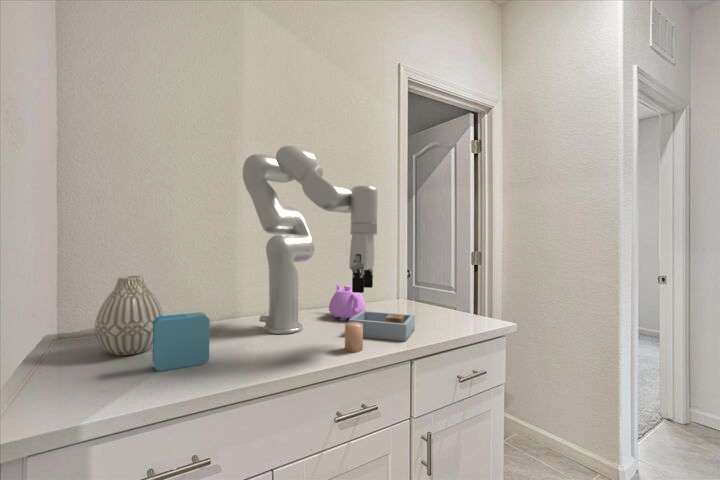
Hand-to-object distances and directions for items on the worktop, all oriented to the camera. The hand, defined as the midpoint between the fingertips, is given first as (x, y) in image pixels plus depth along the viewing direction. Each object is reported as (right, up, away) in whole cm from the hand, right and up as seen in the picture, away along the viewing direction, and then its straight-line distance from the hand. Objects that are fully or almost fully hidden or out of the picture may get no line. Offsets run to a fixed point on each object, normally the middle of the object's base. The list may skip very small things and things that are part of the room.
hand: (362, 289), depth 108 cm
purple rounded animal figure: (-6, -16, +37) cm, 41 cm away
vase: (-63, -16, -6) cm, 65 cm away
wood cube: (+10, -15, +14) cm, 23 cm away
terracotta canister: (-3, -16, -3) cm, 17 cm away
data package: (-44, -16, -16) cm, 50 cm away
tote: (+7, -16, +15) cm, 23 cm away
